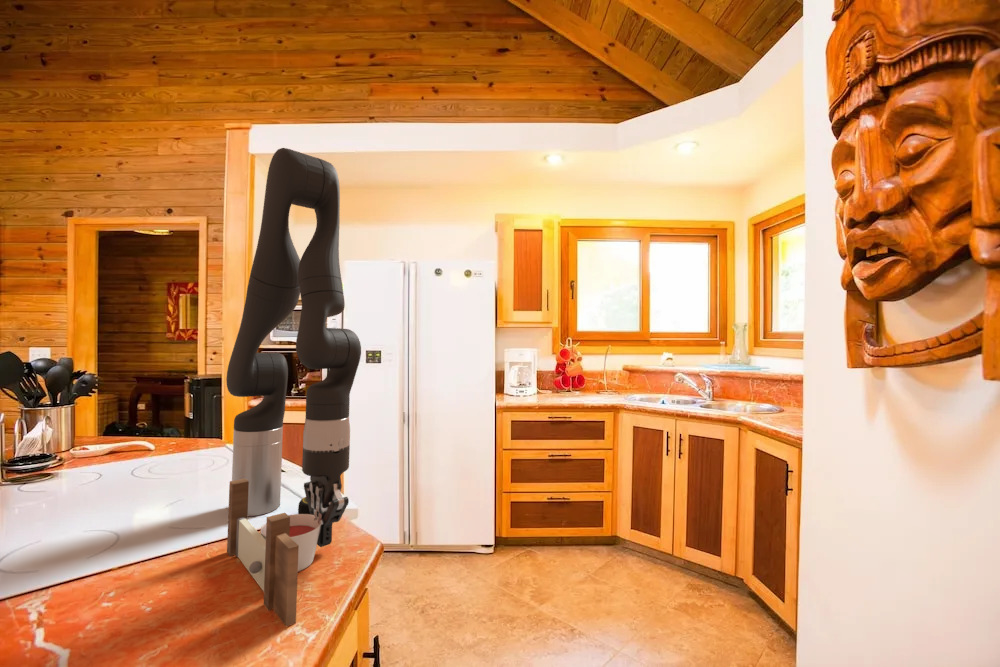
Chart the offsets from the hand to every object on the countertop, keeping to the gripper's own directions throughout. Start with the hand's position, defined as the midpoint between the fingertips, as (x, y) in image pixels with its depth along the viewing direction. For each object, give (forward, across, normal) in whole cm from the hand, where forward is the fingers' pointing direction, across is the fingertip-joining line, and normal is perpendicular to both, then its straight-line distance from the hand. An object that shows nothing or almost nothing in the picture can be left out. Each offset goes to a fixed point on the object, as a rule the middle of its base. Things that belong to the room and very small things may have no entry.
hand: (323, 544), depth 74 cm
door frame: (+2, +2, -11) cm, 11 cm away
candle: (+2, 0, -5) cm, 6 cm away
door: (+1, -1, -11) cm, 12 cm away
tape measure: (+2, -16, +6) cm, 17 cm away
